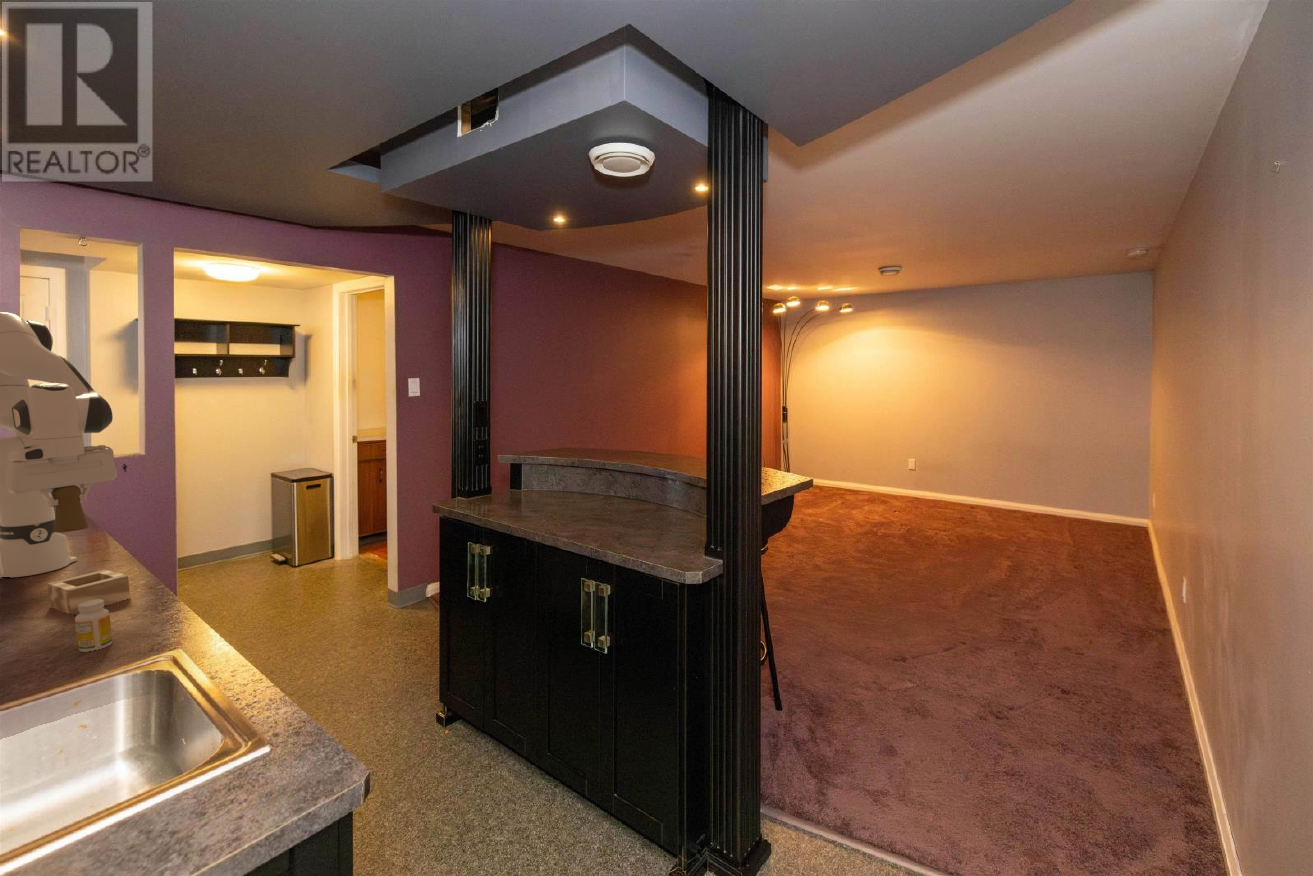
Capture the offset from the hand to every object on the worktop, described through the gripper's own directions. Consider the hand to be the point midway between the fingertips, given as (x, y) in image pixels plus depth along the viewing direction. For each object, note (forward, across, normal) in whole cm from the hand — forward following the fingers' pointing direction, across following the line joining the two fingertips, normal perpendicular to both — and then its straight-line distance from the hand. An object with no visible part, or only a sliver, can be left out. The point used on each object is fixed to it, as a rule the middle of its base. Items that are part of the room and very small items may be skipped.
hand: (68, 504), depth 154 cm
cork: (+6, 0, 0) cm, 7 cm away
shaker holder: (+25, 0, +5) cm, 25 cm away
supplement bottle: (+26, +11, +37) cm, 47 cm away
